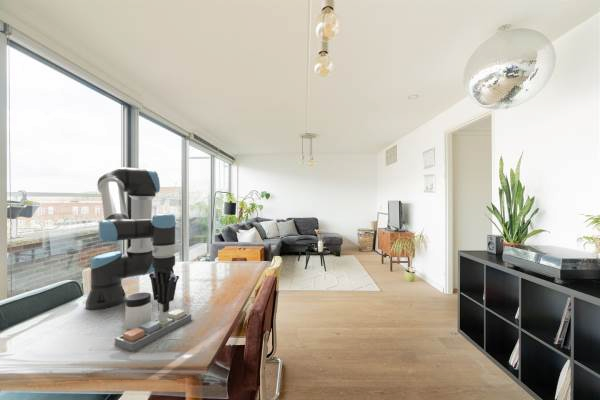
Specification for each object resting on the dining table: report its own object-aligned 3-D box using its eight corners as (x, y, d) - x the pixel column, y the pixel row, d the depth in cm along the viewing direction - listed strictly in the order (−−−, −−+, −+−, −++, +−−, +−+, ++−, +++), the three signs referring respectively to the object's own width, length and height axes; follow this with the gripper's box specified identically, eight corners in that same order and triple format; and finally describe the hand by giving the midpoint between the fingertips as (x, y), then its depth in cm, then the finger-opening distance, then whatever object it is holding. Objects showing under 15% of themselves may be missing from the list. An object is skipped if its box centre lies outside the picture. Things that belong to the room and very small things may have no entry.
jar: (120, 334, 92) (120, 301, 92) (129, 324, 100) (129, 293, 100) (147, 331, 94) (147, 299, 94) (154, 321, 102) (155, 291, 102)
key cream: (167, 318, 98) (167, 313, 98) (176, 314, 101) (177, 308, 101) (175, 320, 96) (175, 315, 96) (184, 315, 100) (184, 310, 100)
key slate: (139, 331, 88) (139, 325, 88) (151, 326, 91) (151, 320, 91) (147, 334, 86) (147, 328, 86) (159, 328, 90) (159, 322, 90)
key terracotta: (123, 339, 82) (123, 333, 83) (135, 333, 86) (135, 327, 86) (131, 342, 81) (131, 336, 81) (144, 336, 85) (144, 330, 85)
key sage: (154, 327, 93) (154, 322, 93) (164, 322, 96) (164, 317, 96) (162, 330, 91) (162, 324, 91) (172, 324, 95) (172, 319, 95)
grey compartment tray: (112, 348, 83) (112, 337, 83) (173, 319, 104) (173, 310, 104) (134, 356, 78) (134, 345, 78) (193, 324, 99) (193, 314, 99)
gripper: (142, 256, 93) (142, 321, 93) (167, 259, 88) (167, 328, 88) (160, 252, 100) (160, 312, 100) (185, 255, 95) (184, 318, 95)
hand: (163, 319), depth 94 cm, fingers closed
